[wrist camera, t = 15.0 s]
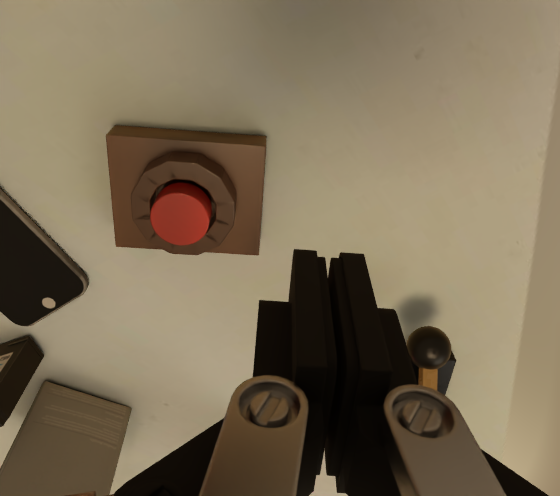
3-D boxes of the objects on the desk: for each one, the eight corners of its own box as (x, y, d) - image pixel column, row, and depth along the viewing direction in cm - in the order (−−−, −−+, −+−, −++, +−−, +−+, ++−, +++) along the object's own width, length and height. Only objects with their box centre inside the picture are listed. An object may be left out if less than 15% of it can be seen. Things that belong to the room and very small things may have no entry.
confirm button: (212, 183, 32) (209, 194, 30) (211, 234, 34) (208, 247, 32) (154, 179, 32) (148, 190, 30) (156, 231, 33) (151, 244, 32)
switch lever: (401, 324, 40) (414, 326, 36) (442, 326, 40) (458, 328, 37) (396, 499, 38) (409, 517, 35) (438, 501, 38) (455, 519, 35)
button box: (266, 135, 34) (265, 155, 31) (259, 240, 38) (258, 268, 35) (115, 124, 34) (96, 143, 30) (123, 232, 38) (108, 259, 34)
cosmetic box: (26, 422, 47) (-77, 614, 33) (48, 370, 44) (-54, 558, 30) (114, 451, 49) (52, 643, 35) (141, 403, 46) (85, 593, 32)
